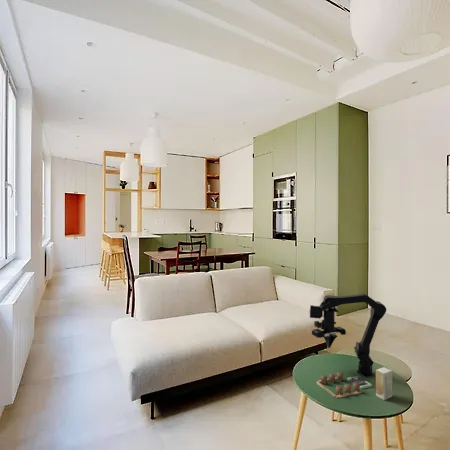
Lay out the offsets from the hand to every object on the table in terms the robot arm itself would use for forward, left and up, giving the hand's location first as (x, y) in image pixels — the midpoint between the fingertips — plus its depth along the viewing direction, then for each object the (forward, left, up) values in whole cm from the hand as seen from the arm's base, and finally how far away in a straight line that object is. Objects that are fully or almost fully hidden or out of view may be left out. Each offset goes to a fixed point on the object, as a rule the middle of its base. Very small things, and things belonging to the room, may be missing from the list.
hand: (328, 347), depth 163 cm
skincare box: (-7, +30, -12) cm, 33 cm away
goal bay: (-5, +17, -12) cm, 21 cm away
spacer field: (+7, +17, -12) cm, 22 cm away
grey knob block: (-4, +18, -12) cm, 22 cm away
